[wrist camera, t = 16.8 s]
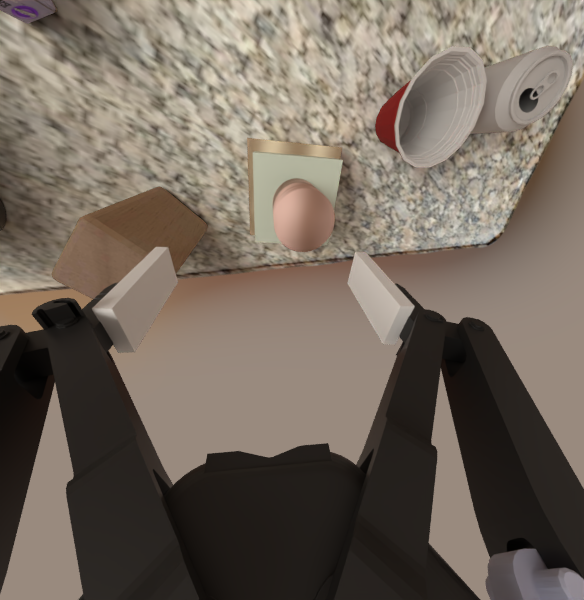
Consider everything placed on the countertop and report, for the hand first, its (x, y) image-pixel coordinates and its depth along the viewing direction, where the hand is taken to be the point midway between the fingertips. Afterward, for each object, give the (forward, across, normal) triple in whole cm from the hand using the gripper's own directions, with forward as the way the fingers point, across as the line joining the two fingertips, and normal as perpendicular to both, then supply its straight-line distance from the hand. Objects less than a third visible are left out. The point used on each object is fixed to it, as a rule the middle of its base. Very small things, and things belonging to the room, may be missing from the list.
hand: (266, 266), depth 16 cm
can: (+29, +32, +14) cm, 45 cm away
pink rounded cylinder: (+20, +4, 0) cm, 20 cm away
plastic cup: (+29, +20, +11) cm, 37 cm away
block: (+29, -18, -7) cm, 35 cm away
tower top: (+24, +4, 0) cm, 25 cm away
